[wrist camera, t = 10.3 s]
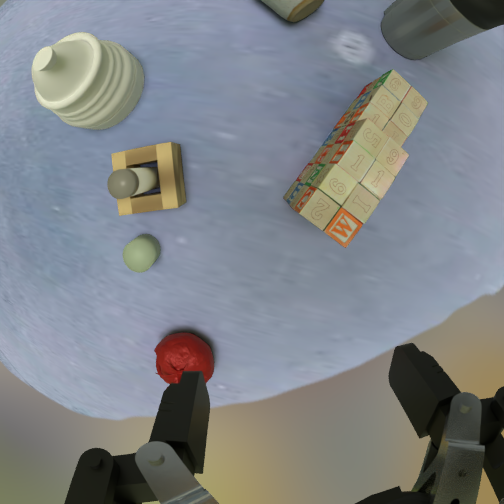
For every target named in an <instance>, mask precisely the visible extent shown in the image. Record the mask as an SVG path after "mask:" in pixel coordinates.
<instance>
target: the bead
mask: <svg viewBox="0 0 504 504" xmlns="http://www.w3.org/2000/svg"><path fill="white" fill-rule="evenodd" d="M160 251H161V249H160V244H159V242H158V241H157V239H156V238H155V237H153V236H152V235H149V234H142V235H140V236H138V237H137V238H135V239H134V240H133V241H131V242H130V243H129V244H127V245H126V246H125V248H124V250H123V259H124V262H125V264H126V266H127V267H128V268H129V269H131V270H132V271H134V272H145V271H146V270H148V269H149V268H150V267H151V265H152V264H153V263H154V262H155V261H156V260H157V258H158V257H159V255H160Z"/></svg>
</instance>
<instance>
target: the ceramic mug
mask: <svg viewBox="0 0 504 504" xmlns="http://www.w3.org/2000/svg"><path fill="white" fill-rule="evenodd" d="M261 1H262V2H264V3H265V4H266V5H268V6H269V7H270V8H272V9H273V10H274V11H275V12H276V13H277V14H278V15H280V16H281V17H283V18H284V19H286V20H287V21H290V22H296V21H299V20H301V19H303V18H305V17H307V16H308V15H310V14H311V13H313V12H314V11H315V10H316V9H317V8H318V7H319V6H320V5H321V4H322V3H323V1H324V0H261Z"/></svg>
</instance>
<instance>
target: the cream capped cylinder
mask: <svg viewBox="0 0 504 504" xmlns="http://www.w3.org/2000/svg"><path fill="white" fill-rule="evenodd" d="M159 187H160V180H159V171H158V167H144V168H130V169H119V170H116V171H114V172H113V173H112V174H111V175H110V177H109V179H108V190H109V192H110V194H111V195H112V196H113V197H114V198H117V199H124V198H127V197H130V196H134V195H137V194H140V193H143V192H146V191H149V190H153V189H156V188H159Z"/></svg>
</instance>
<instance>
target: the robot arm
mask: <svg viewBox="0 0 504 504" xmlns="http://www.w3.org/2000/svg"><path fill="white" fill-rule="evenodd" d="M384 13H385V17H384V18H383V19H382V22H381V29H382V33H383V35H384V38H385V39H386V41H387V42H388V44H389V45H390V46H391V47H392V48H393V49H394V50H395V51H396V52H398V53H399V54H400V55H402V56H404V57H406V58H409V59H412V60H419V59H422V58H424V57H427V56H428V55H430V54H432V53H435V52H437V51H439V50H441V49H444V48H446V47H448V46H450V45H453V44H455V43H457V42H460V41H462V40H464V39H467V38H469V37H472V36H474V35H476V34H479V33H482V32H484V31H487V30H489V29H492V28H494V27H497V26H500V25H503V24H504V0H396V1H395V2H394V3H392V4H391V5H390V6H389V7H388V8H387V9H386V10H385V11H384ZM389 383H390V386H391V388H392V389H393V391H394V393H395V395H396V396H397V398H398V400H399V402H400V403H401V405H402V407H403V409H404V411H405V412H406V414H407V416H408V418H409V420H410V422H411V423H412V425H413V427H414V429H415V431H416V433H417V435H418V436H419V438H423V437H425V436H428V435H430V437H431V440H430V441H429V444H428V448H427V451H426V455H425V458H424V462H423V465H422V468H421V471H420V474H419V477H418V479H417V481H416V483H415V485H414V486H413V488H412V490H411V491H407V492H401V489H400V487H399V486H398V487H395V488H392V489H389V490H386V491H383V492H380V493H377V494H374V495H371V496H369V497H367V498H365V499H364V500H361V501H359V502H357V503H355V504H476V500H477V495H478V490H479V486H480V481H481V475H482V468H484V470H485V472H486V474H487V477H488V479H489V481H490V483H491V485H492V487H493V489H494V492H495V494H496V496H497V498H498V501H499V504H504V438H503V436H502V434H501V432H502V431H503V429H504V387H501V388H500V389H498V391H497V392H496V394H495V396H494V397H492V398H486V399H478V397H477V396H475V395H474V394H471V393H467V392H463V393H461V392H460V390H459V389H458V388H457V386H456V385H455V384H454V383H453V381H452V380H451V379H450V378H449V376H448V375H447V374H446V373H445V372H444V371H443V369H442V368H441V366H439V364H438V363H437V361H436V360H435V359H434V358H433V357H432V356H431V355H429V354H427V353H426V352H424V351H422V352H420V351H419V349H418V348H417V347H416V346H415V345H414V344H413V343H409V344H405V345H401V346H397V347H396V348H395V350H394V354H393V358H392V362H391V366H390V371H389ZM158 410H159V411H158V413H157V416H156V419H155V423H154V426H153V430H152V433H151V436H150V440H149V442H148V443H146V444H144V445H143V446H141V447H140V448H139V449H138V451H137V452H136V453H133V454H127V455H118V456H111V454H110V453H109V452H108V451H106V450H104V449H101V448H92V449H89V450H87V451H85V452H84V453H83V454H82V455H81V457H80V459H79V461H78V464H77V467H76V470H75V473H74V476H73V478H72V481H71V485H70V488H69V491H68V494H67V497H66V500H65V504H142V502H150V501H159V502H160V503H161V504H219V503H218V502H217V501H216V500H215V499H214V497H213V496H212V495H211V494H210V493H209V492H208V491H207V490H206V489H204V488H203V487H202V486H201V485H200V484H199V482H198V481H197V480H196V479H195V477H194V473H199V474H202V473H203V467H204V458H205V448H206V438H207V429H208V421H209V413H210V400H209V395H208V391H207V387H206V383H205V379H204V375H203V372H202V371H183V372H182V375H181V379H180V383H171V384H170V385H169V386H168V388H167V389H166V390H165V391H164V393H163V396H162V399H161V403H160V406H159V409H158Z"/></svg>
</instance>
